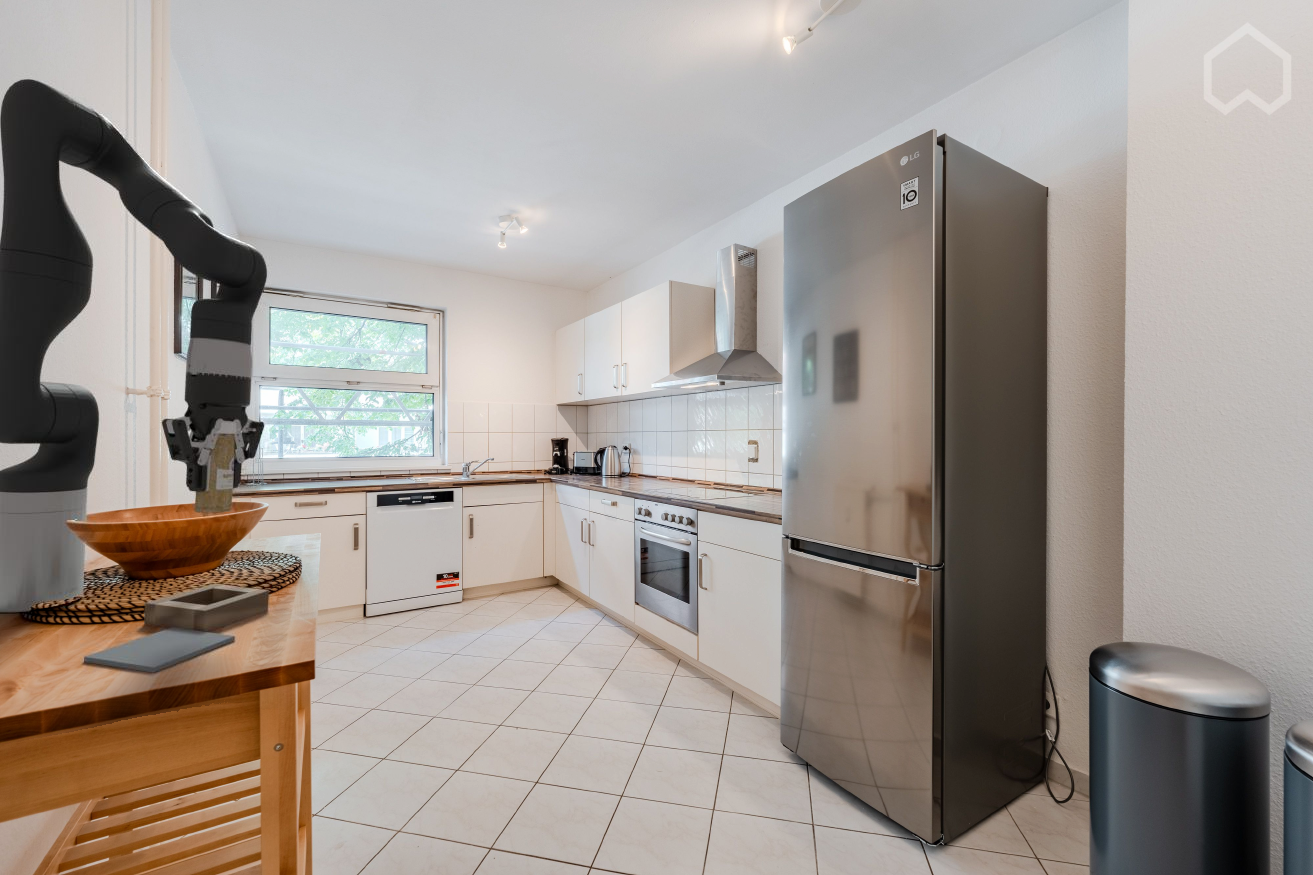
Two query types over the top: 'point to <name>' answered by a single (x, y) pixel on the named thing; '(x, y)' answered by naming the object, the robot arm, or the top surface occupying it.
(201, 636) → the slate mat
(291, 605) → the top surface
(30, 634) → the top surface
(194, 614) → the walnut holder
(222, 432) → the sprinkles bottle
